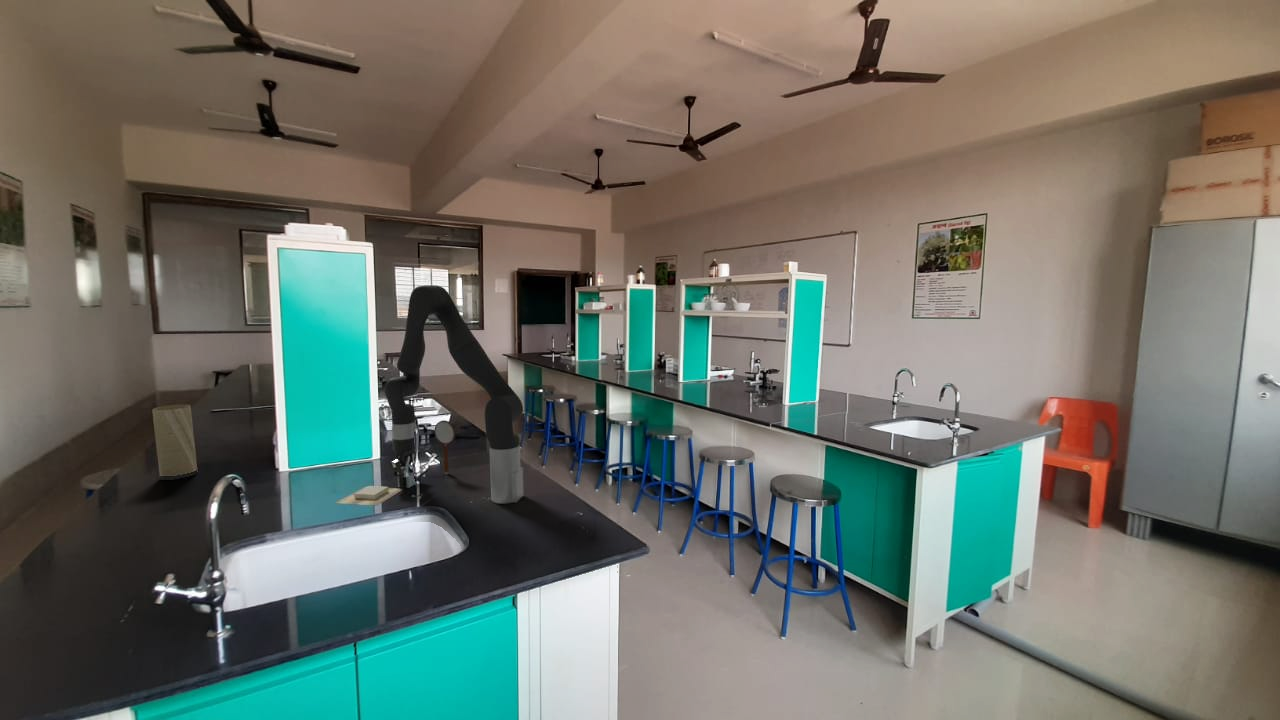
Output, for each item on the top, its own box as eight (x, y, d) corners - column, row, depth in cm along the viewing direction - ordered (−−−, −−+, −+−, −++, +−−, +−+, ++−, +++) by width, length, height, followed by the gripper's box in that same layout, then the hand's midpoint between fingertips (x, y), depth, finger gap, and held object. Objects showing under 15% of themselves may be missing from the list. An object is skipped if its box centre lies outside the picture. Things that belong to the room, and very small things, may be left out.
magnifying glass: (458, 475, 185) (456, 420, 183) (455, 476, 184) (452, 421, 181) (438, 472, 188) (436, 419, 186) (435, 474, 187) (432, 420, 184)
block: (416, 484, 176) (415, 472, 176) (409, 488, 172) (408, 476, 172) (405, 483, 177) (404, 472, 177) (398, 487, 173) (397, 476, 173)
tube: (152, 480, 180) (143, 410, 177) (178, 471, 190) (171, 404, 187) (179, 481, 179) (172, 410, 177) (204, 471, 189) (198, 404, 186)
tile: (388, 486, 169) (374, 494, 162) (388, 491, 169) (374, 499, 162) (368, 485, 170) (354, 493, 163) (369, 490, 170) (354, 498, 163)
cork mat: (403, 490, 171) (403, 488, 171) (376, 506, 157) (376, 505, 157) (365, 487, 173) (365, 486, 173) (335, 504, 159) (334, 503, 159)
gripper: (402, 441, 165) (405, 493, 167) (426, 430, 179) (429, 478, 181) (380, 441, 166) (383, 492, 168) (406, 429, 180) (409, 477, 182)
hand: (407, 484), depth 175 cm, fingers closed on block, 4 cm apart
